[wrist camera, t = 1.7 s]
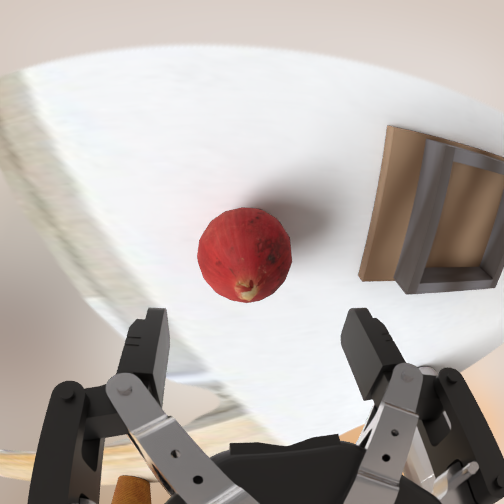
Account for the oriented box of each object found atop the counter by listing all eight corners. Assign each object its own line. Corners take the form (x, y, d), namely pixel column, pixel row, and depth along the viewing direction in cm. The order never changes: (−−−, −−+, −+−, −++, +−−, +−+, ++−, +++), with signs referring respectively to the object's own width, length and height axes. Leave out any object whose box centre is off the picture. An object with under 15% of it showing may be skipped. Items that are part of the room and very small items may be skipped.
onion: (253, 176, 21) (269, 221, 14) (295, 238, 24) (324, 302, 17) (185, 222, 22) (170, 284, 15) (231, 277, 25) (236, 350, 18)
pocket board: (523, 165, 22) (546, 175, 19) (491, 271, 28) (509, 288, 25) (387, 125, 20) (412, 132, 17) (358, 275, 26) (373, 299, 23)
